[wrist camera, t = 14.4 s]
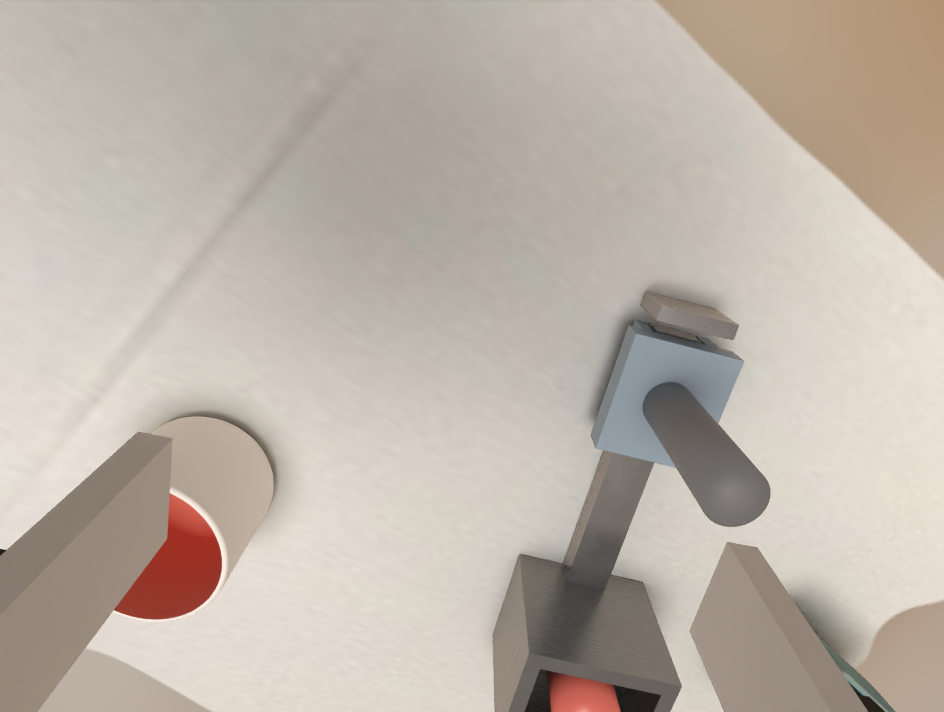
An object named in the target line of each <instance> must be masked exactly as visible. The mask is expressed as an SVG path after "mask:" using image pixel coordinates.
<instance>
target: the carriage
mask: <svg viewBox="0 0 944 712" xmlns="http://www.w3.org/2000/svg"><path fill="white" fill-rule="evenodd" d="M696 338H697V339H698V340H699V341H700V342H701V343H697V342H693V341H689V340H685V339H681V338H678V337H674V336H670V335H666V334H662V333H658V332H654V331H653V330H652V329H651V328H650V327H649V326H648V325H647V324H646V323H643V322H639V321H634V324H633V326H631V325H629V326H628V329H627V332H626V334H625V337H624V340H623V343H622V346H621V349H620V352H619V355H618V358H617V360H616V363H615V366H614V369H613V372H612V375H611V378H610V381H609V383H608V386H607V389H606V392H605V395H604V398H603V401H602V404H601V406H600V409H599V412H598V415H597V418H596V421H595V424H594V427H593V429H592V432H591V437H592V440H593V443H594V445H595V448H597V449H601V450H605V451H609V452H613V453H617V454H622V455H626V456H630V457H634V458H638V459H642V460H646V461H651V462H655V463H659V464H663V465H667V466H671V467H675V468H677V470H678V471H679V473H680V475H681V476H682V478H683V479H684V481H685V483H686V484H687V486H688V488H689V489H690V491H691V492H692V494H693V496H694V497H695V499H696V500H697V502H698V504H699V505H700V507H701V508H702V510H703V512H704V513H705V515H706V516H707V517H708V518H709V519H710V520H711V521H713V522H714V523H716V524H718V525H722V526H727V527H736V526H741V525H745V524H747V523H750V522H751V521H753V520H755V519H756V518H757V517H759V516H760V515H761V514H762V513H763V511H764V510H765V509H766V507H767V505H768V503H769V499H770V487H769V484H768V481H767V480H766V478H765V477H764V476H763V475H762V473H761V472H760V471H759V470H758V469H757V468H756V467H755V465H754V464H753V463H752V462H751V461H750V460H749V459H748V457H747V456H746V455H745V454H744V453H743V452H742V451H741V449H740V448H739V447H738V446H737V445H736V444H735V443H734V441H733V440H732V439H731V438H730V437H729V436H728V435H727V433H726V432H725V431H724V430H723V429H722V428H721V427H720V425H719V424H718V422H719V420H720V418H721V415H722V413H723V410H724V408H725V406H726V403H727V401H728V398H729V396H730V394H731V391H732V389H733V386H734V384H735V382H736V379H737V377H738V374H739V372H740V370H741V367H742V365H743V362H744V361H743V360H742V359H741V358H739V357H738V356H737V355H736V354H734V353H733V352H732V351H728V350H725V349H721V348H718V347H717V346H716V345H714V344H713V343H712V342H711V341H709V340H708V339H705V338H701V337H696Z"/></svg>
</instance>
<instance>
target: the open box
mask: <svg viewBox="0 0 944 712" xmlns="http://www.w3.org/2000/svg"><path fill="white" fill-rule="evenodd" d="M493 667H494V706H495V712H551V704H550V696H549V688H548V681H547V673H546V670H547V671H552V672H557V673H561V674H566V675H570V676H575V677H580V678H584V679H589V680H594V681H598V682H603V683H608V684H612V685H614V688H615V692H616V696H617V700H618V704H619V708H620V712H670V711H671V709H672V707H673V705H674V702H675V700H676V698H677V696H678V694H679V692H680V689H681V687H682V685H681V683H680V680H679V677H678V675H677V672H676V669H675V667H674V664H673V661H672V659H671V656H670V654H669V651H668V648H667V646H666V643H665V640H664V638H663V635H662V632H661V630H660V627H659V624H658V622H657V619H656V616H655V614H654V611H653V608H652V606H651V603H650V600H649V598H648V595H647V592H646V590H645V587H644V585H643V582H639V581H635V580H630V579H626V578H622V577H617V576H613V575H610V578H609V580H608V583H607V585H606V588H605V590H604V589H600V588H595V587H591V586H586V585H582V584H577V583H573V582H569V581H566V577H565V572H564V567H563V564H560V563H556V562H551V561H547V560H543V559H538V558H534V557H529V556H525V555H521V554H519V557H518V560H517V563H516V566H515V569H514V572H513V575H512V578H511V582H510V585H509V588H508V591H507V594H506V597H505V600H504V603H503V606H502V609H501V612H500V615H499V618H498V621H497V624H496V627H495V630H494V633H493Z"/></svg>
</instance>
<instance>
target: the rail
mask: <svg viewBox="0 0 944 712" xmlns="http://www.w3.org/2000/svg"><path fill="white" fill-rule="evenodd" d="M640 306H641V307H642V308H644V309H645V310H646V311H647V312H648V313H649V314H650V315H651V316H652V317H653V318H654V319H655V320H656V321H660V322H664V323H667V324H671V325H675V326H679V327H683V328H687V329H691V330H695V331H699V332H703V333H706V334H710V335H714V336H718V337H722V338H726V339H730V340H733V339H734V337H735V335H736V332H737V330H738V327H739V325H738V324H737V323H735V322H734V321H732V320H731V319H729V318H728V317H726V316H725V315H723V314H722V313H720V312H719V311H717V310H716V309H712V308H708V307H704V306H700V305H697V304H693V303H689V302H685V301H681V300H677V299H673V298H670V297H666V296H662V295H658V294H654V293H650V292H647V291H645V293H644V296H643V299H642V302H641V304H640ZM648 326H649V327H650V328H651V329H652V330H653V331H654V332H658V333H662V334H666V335H670V336H674V337H678V338H681V339H685V340H689V341H693V342H697V343H701V342H700V341H699V340H698V339H697V338H696V337H695V336H693V335H692V334H691V333H687V332H683V331H679V330H675V329H671V328H668V327H664V326H660V325H656V324H652V323H649V325H648ZM653 464H654V462H651V461H646V460H642V459H638V458H634V457H630V456H626V455H622V454H617V453H613V452H609V451H605V450H604V451H603V454H602V457H601V459H600V462H599V465H598V468H597V471H596V473H595V476H594V479H593V482H592V484H591V487H590V490H589V493H588V496H587V498H586V501H585V504H584V507H583V510H582V512H581V515H580V518H579V521H578V524H577V526H576V529H575V532H574V535H573V538H572V540H571V543H570V546H569V549H568V552H567V554H566V557H565V560H564V563H563V567H564V572H565V577H566V581H569V582H573V583H577V584H582V585H586V586H591V587H595V588H600V589H604V590H605V588H606V585H607V583H608V580H609V578H610V575H611V572H612V570H613V567H614V565H615V562H616V560H617V557H618V554H619V552H620V549H621V547H622V544H623V542H624V539H625V536H626V534H627V531H628V529H629V526H630V524H631V521H632V518H633V516H634V513H635V511H636V508H637V506H638V503H639V500H640V498H641V495H642V493H643V490H644V488H645V485H646V482H647V480H648V477H649V475H650V472H651V470H652V467H653Z"/></svg>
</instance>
